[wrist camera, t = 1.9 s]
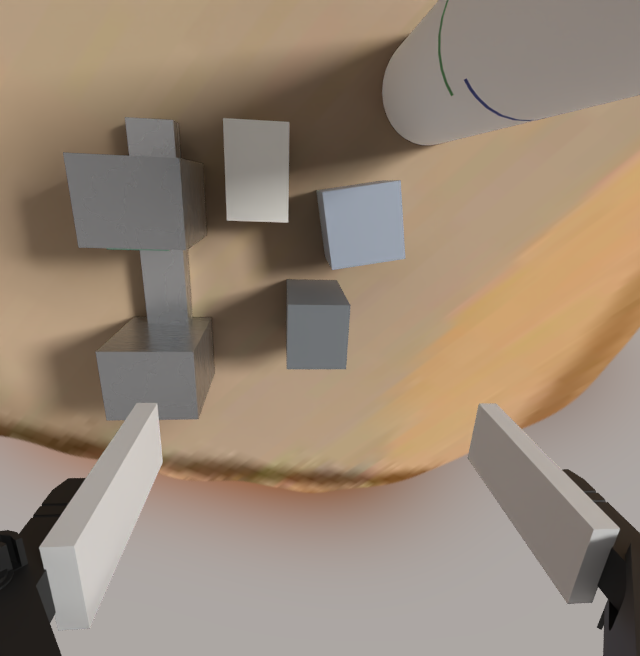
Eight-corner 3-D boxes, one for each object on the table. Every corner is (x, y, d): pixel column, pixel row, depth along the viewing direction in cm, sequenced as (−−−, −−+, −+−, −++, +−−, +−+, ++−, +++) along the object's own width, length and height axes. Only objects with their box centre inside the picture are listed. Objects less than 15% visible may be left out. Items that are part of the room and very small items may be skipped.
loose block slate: (316, 190, 30) (322, 191, 25) (382, 180, 30) (400, 180, 25) (324, 256, 32) (332, 269, 27) (387, 247, 32) (405, 258, 27)
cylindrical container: (430, 167, 30) (971, 112, 6) (361, 94, 28) (777, -371, 4) (502, 84, 28) (1540, -376, 5) (434, 1, 26) (1648, -1447, 3)
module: (286, 279, 32) (287, 304, 25) (336, 280, 32) (350, 305, 26) (286, 333, 33) (286, 371, 27) (333, 334, 34) (345, 371, 27)
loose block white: (230, 126, 28) (223, 118, 24) (288, 129, 28) (289, 121, 25) (233, 215, 30) (226, 220, 26) (287, 217, 30) (288, 222, 27)
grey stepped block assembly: (109, 119, 27) (54, 99, 20) (201, 124, 28) (175, 106, 21) (142, 384, 34) (108, 433, 27) (215, 384, 34) (199, 431, 28)
